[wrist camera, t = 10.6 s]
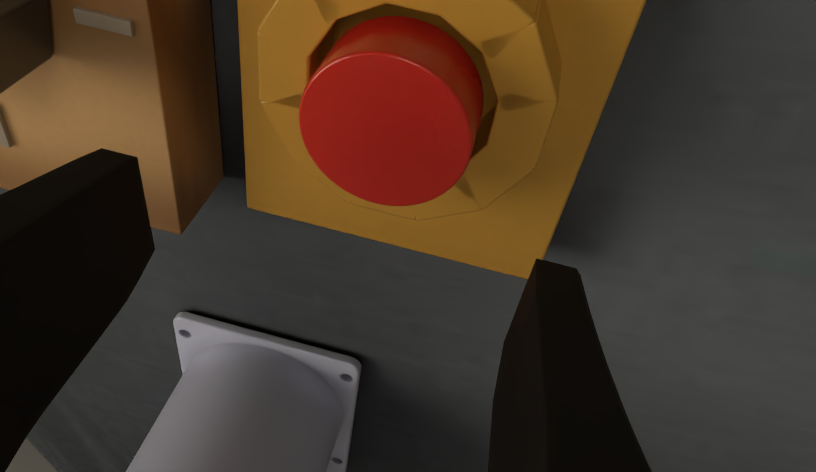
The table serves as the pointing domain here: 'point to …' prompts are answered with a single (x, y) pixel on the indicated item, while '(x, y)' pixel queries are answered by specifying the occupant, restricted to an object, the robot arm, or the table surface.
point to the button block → (497, 134)
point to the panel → (123, 101)
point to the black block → (23, 39)
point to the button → (393, 111)
